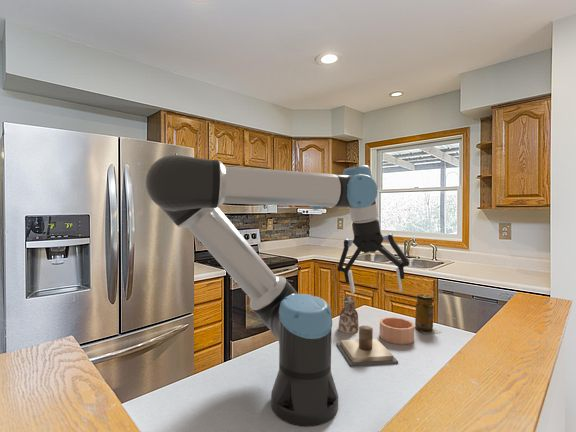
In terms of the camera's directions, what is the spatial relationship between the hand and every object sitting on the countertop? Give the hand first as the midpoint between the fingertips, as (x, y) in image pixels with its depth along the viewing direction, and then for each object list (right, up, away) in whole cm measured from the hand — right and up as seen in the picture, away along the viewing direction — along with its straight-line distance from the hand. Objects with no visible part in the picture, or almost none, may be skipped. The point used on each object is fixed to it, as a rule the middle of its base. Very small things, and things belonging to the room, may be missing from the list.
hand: (376, 291), depth 94 cm
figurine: (-4, -19, +23) cm, 30 cm away
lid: (-2, -19, +4) cm, 20 cm away
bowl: (+11, -19, +16) cm, 27 cm away
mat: (-2, -20, +4) cm, 20 cm away
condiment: (+24, -20, +23) cm, 39 cm away
